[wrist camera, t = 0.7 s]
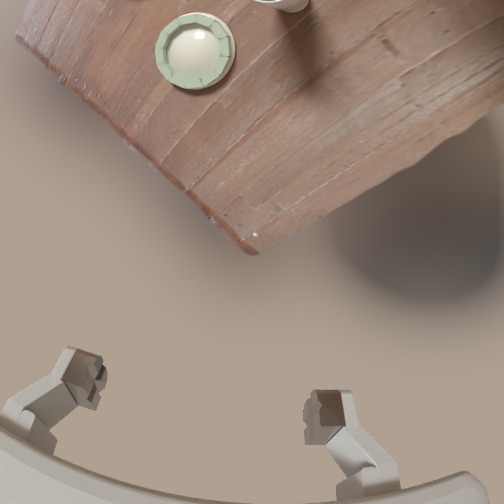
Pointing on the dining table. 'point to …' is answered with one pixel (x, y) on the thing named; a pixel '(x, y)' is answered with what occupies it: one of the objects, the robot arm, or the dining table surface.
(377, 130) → the dining table surface
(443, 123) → the dining table surface
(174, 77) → the green rimmed plate
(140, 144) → the dining table surface
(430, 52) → the dining table surface
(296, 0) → the drinking glass
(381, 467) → the robot arm
